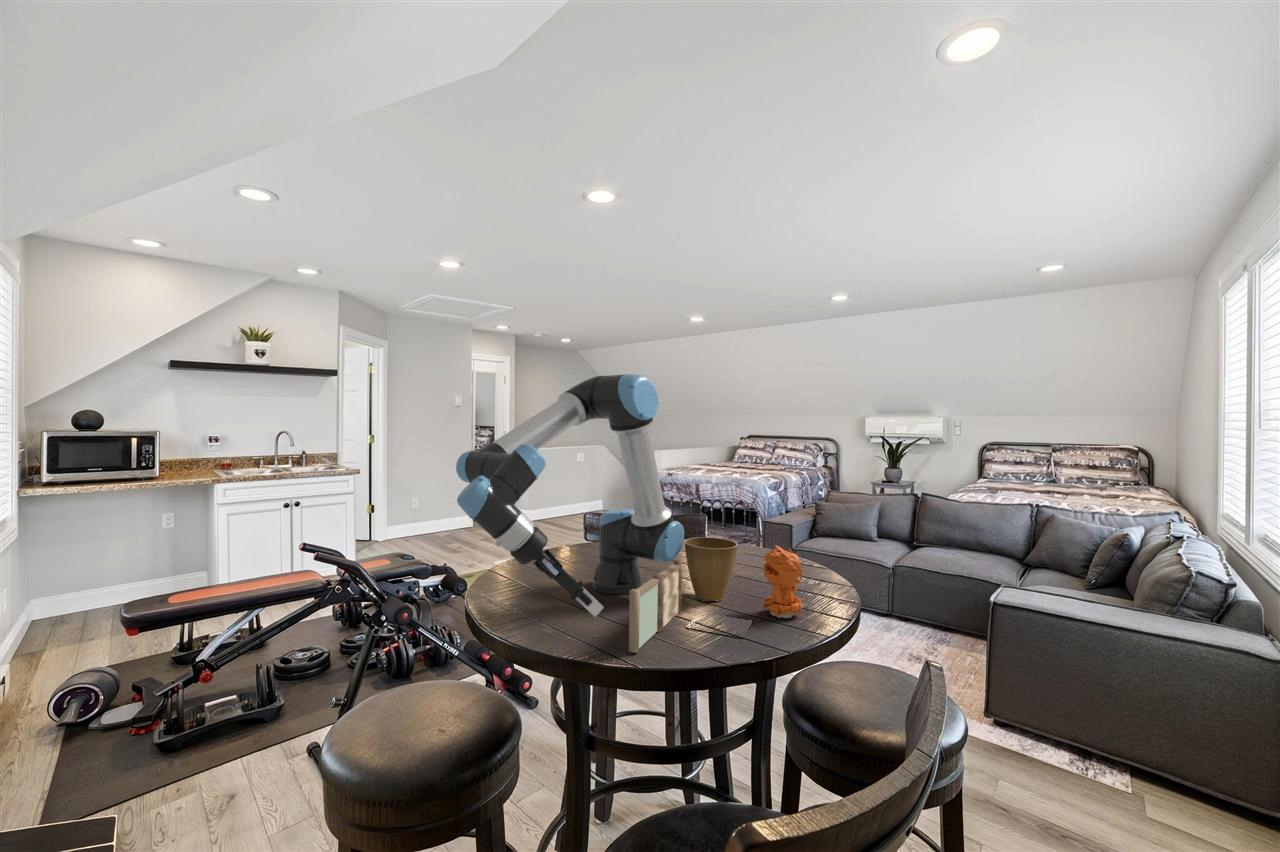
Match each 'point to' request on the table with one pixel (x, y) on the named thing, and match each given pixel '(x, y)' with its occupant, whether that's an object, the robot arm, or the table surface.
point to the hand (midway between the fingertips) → (598, 611)
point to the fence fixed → (669, 593)
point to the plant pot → (710, 565)
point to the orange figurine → (782, 581)
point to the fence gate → (643, 614)
